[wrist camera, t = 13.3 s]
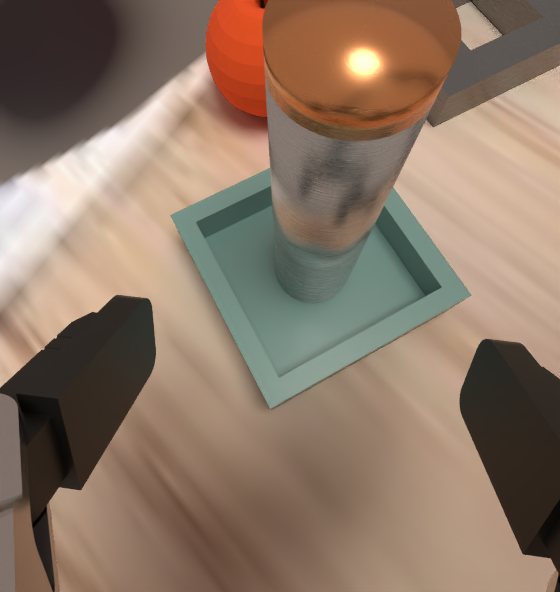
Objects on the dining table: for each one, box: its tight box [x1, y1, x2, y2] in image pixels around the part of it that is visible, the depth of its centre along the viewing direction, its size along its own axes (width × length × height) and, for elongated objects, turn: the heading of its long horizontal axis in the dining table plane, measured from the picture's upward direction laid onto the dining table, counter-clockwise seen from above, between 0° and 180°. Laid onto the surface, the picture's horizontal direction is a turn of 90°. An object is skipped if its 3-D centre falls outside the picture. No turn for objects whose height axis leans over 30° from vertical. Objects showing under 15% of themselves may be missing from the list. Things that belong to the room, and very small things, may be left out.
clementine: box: [206, 0, 268, 117], centre depth 23 cm, size 8×7×7 cm
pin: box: [262, 0, 461, 304], centre depth 15 cm, size 4×4×14 cm
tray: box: [170, 168, 471, 409], centre depth 21 cm, size 11×11×3 cm
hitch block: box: [427, 0, 560, 127], centre depth 26 cm, size 12×10×2 cm
